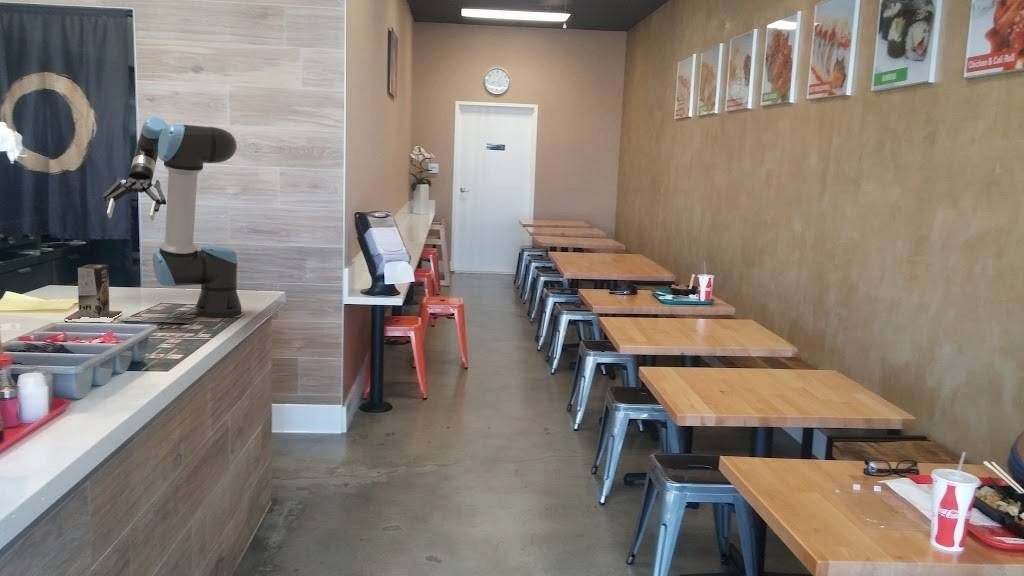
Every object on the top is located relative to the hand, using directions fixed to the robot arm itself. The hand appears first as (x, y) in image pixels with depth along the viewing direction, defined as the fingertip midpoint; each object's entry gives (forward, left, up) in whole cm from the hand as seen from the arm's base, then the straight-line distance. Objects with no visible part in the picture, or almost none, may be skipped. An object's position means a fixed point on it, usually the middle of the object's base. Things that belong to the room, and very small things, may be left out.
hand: (130, 216), depth 260 cm
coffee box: (+6, +20, -31) cm, 37 cm away
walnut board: (+6, +19, -32) cm, 37 cm away
